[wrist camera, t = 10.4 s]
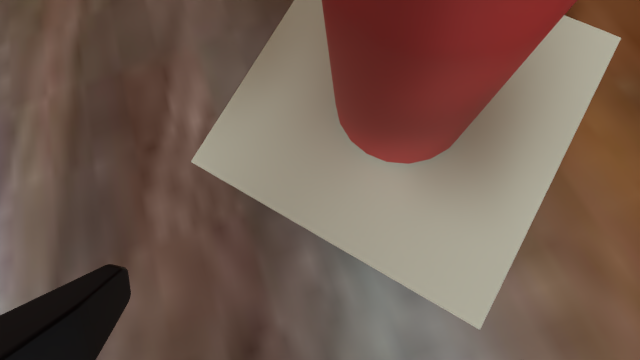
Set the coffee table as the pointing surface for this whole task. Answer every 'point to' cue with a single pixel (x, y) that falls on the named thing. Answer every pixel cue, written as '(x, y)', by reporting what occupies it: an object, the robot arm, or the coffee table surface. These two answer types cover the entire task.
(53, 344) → the robot arm
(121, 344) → the coffee table surface
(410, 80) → the beer can
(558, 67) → the white square platform
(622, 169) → the coffee table surface
